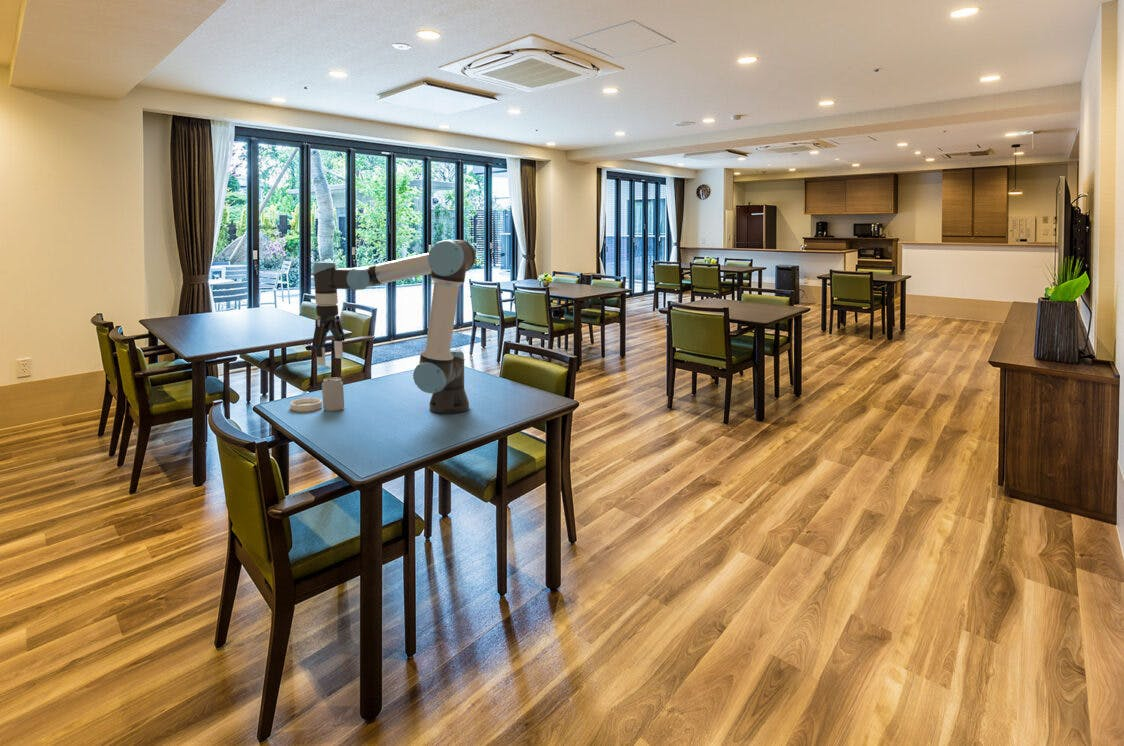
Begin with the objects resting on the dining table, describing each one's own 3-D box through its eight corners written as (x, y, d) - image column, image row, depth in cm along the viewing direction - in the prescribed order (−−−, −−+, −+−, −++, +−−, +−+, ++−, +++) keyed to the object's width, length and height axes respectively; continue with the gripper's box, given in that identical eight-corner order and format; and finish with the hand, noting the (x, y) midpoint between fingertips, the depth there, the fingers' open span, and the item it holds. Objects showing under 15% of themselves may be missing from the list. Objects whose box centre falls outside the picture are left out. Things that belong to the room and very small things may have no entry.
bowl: (327, 404, 239) (327, 398, 239) (312, 412, 229) (312, 406, 228) (300, 403, 241) (300, 397, 240) (285, 410, 230) (284, 404, 229)
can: (323, 407, 236) (321, 377, 233) (344, 406, 238) (342, 375, 235) (323, 413, 229) (321, 381, 226) (344, 411, 231) (342, 380, 229)
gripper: (333, 300, 237) (336, 354, 242) (298, 308, 213) (303, 368, 217) (352, 301, 236) (355, 355, 241) (319, 309, 212) (323, 369, 217)
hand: (330, 361), depth 229 cm, fingers open, 13 cm apart
